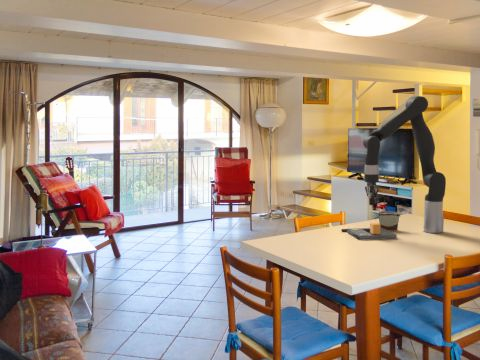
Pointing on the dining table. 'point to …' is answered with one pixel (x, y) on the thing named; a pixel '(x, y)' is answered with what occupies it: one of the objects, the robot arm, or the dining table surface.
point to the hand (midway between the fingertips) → (371, 204)
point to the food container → (389, 220)
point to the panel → (366, 235)
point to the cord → (352, 234)
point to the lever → (375, 228)
